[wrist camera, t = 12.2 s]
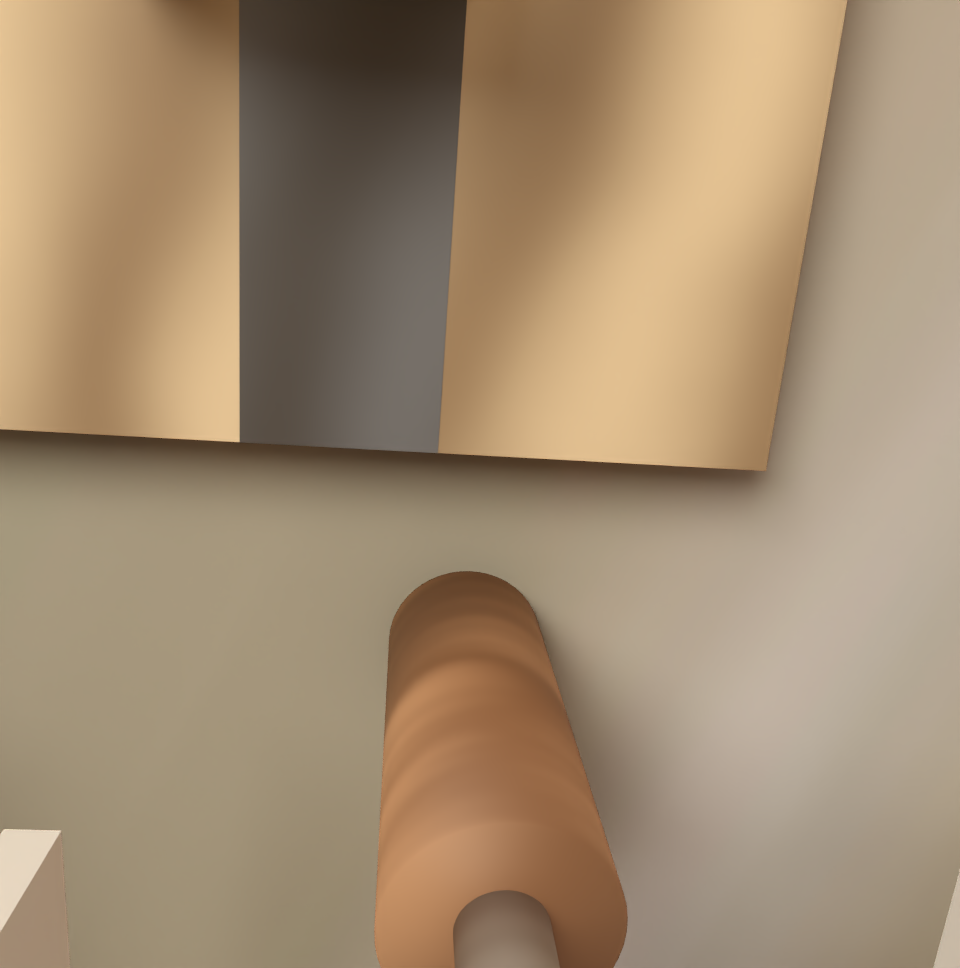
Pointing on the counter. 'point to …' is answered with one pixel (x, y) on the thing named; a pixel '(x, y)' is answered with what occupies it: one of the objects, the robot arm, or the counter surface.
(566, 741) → the awl
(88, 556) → the counter surface
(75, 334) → the plywood board
